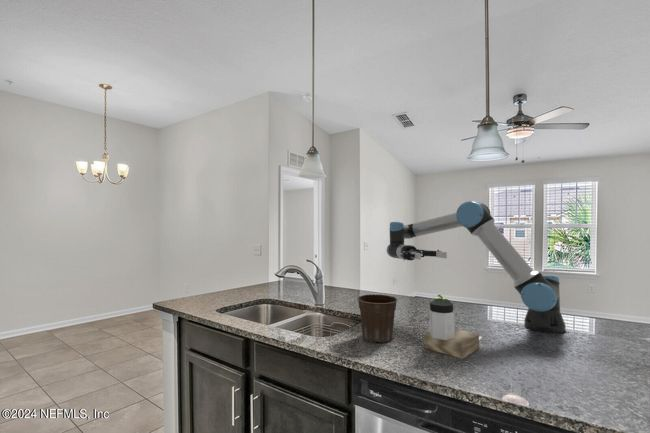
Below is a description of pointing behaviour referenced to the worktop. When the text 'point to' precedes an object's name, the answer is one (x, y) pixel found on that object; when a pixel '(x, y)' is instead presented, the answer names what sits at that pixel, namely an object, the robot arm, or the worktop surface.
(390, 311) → the plant pot
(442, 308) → the jar
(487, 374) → the worktop surface
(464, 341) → the maple block
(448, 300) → the bell pepper
